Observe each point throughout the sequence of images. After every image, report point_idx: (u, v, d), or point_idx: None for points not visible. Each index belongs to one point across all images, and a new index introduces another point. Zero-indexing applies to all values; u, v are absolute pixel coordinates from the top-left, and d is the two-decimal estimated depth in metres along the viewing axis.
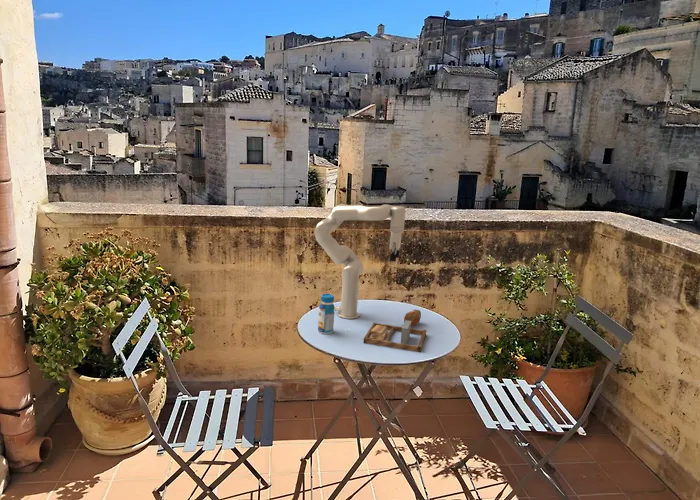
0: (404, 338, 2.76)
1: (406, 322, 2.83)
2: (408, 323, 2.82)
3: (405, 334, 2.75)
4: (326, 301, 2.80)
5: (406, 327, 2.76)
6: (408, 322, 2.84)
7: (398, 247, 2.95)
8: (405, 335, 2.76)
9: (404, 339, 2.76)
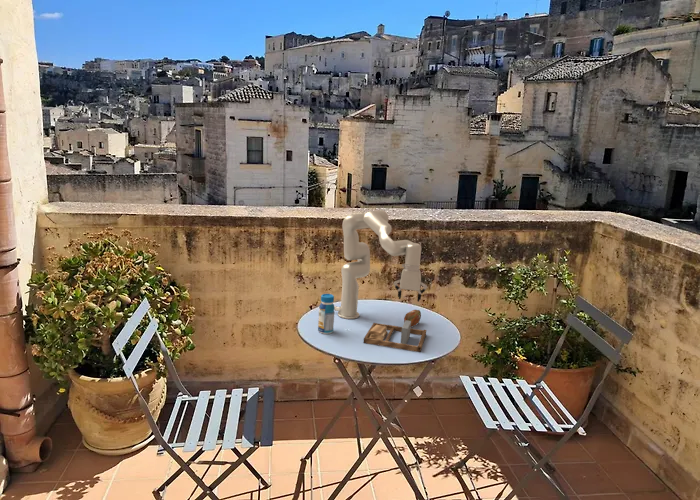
0: (404, 338, 2.76)
1: (406, 322, 2.83)
2: (408, 323, 2.82)
3: (405, 334, 2.76)
4: (326, 301, 2.80)
5: (406, 327, 2.76)
6: (408, 322, 2.84)
7: None
8: (405, 335, 2.76)
9: (404, 339, 2.76)
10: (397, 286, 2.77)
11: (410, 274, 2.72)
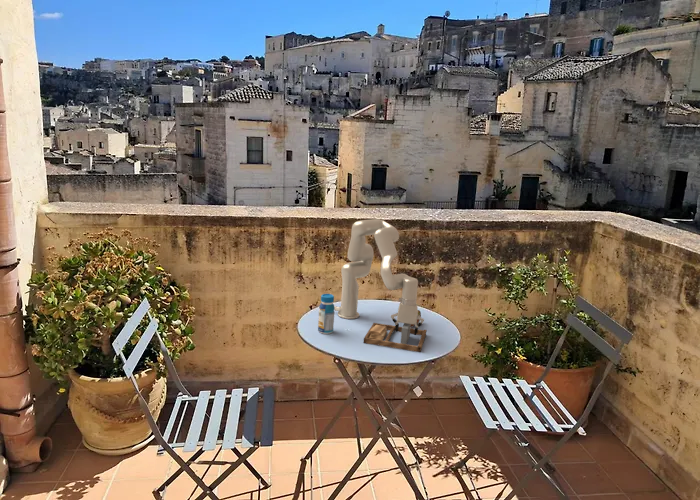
0: (404, 338, 2.76)
1: None
2: None
3: (405, 334, 2.75)
4: (326, 301, 2.80)
5: (406, 327, 2.76)
6: None
7: None
8: (405, 335, 2.76)
9: (404, 339, 2.76)
10: (394, 319, 2.81)
11: (407, 308, 2.76)
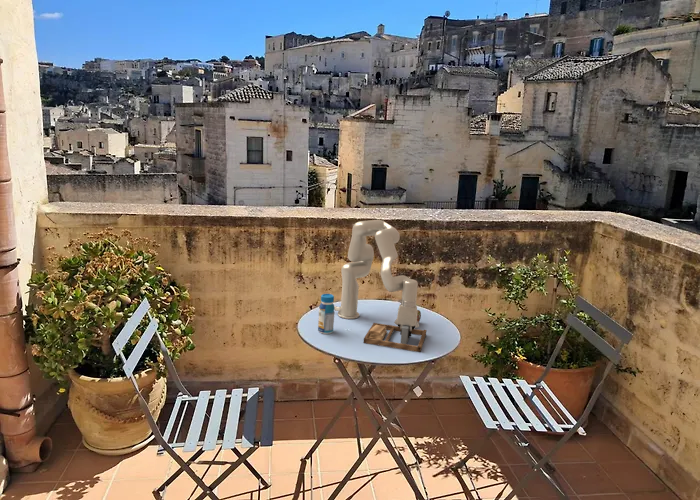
0: (404, 338, 2.76)
1: None
2: None
3: (405, 334, 2.75)
4: (326, 301, 2.80)
5: (406, 327, 2.76)
6: None
7: None
8: (405, 335, 2.75)
9: (404, 339, 2.76)
10: (399, 324, 2.81)
11: (407, 310, 2.76)
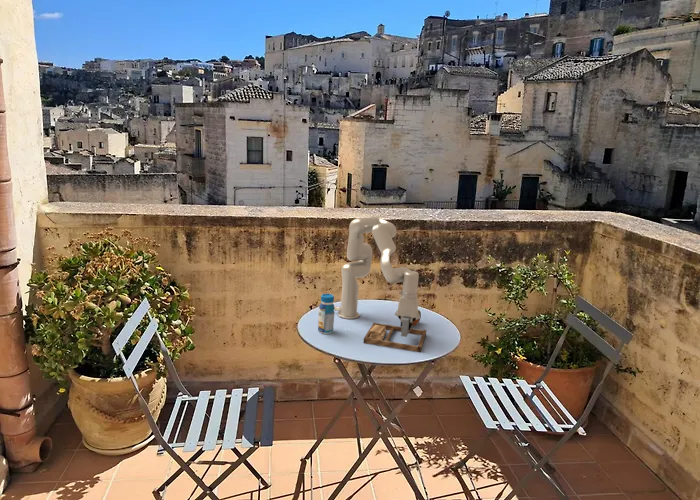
0: (405, 330, 2.75)
1: None
2: None
3: (406, 326, 2.74)
4: (326, 301, 2.80)
5: (407, 319, 2.75)
6: None
7: None
8: (406, 327, 2.75)
9: (405, 331, 2.75)
10: (400, 316, 2.80)
11: (407, 302, 2.75)
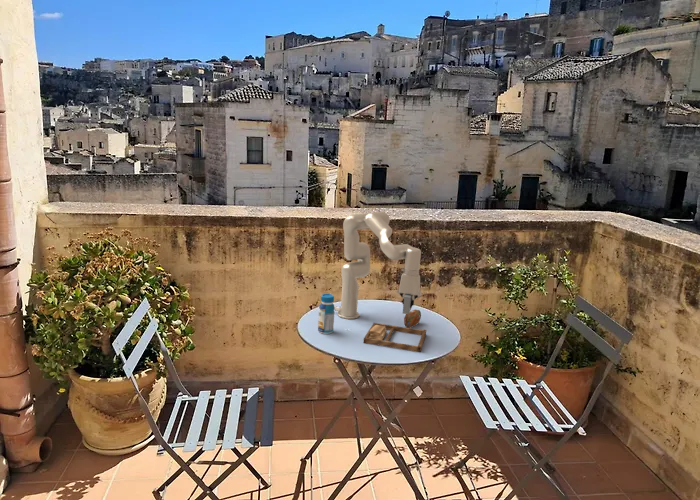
0: (406, 307, 2.72)
1: None
2: None
3: (407, 303, 2.72)
4: (326, 301, 2.80)
5: (408, 296, 2.73)
6: None
7: None
8: (407, 304, 2.72)
9: (406, 308, 2.73)
10: (402, 293, 2.77)
11: (409, 279, 2.72)
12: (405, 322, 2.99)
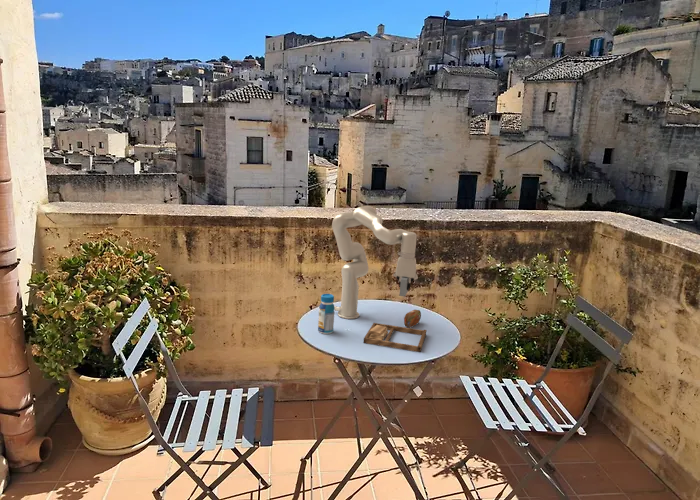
0: (403, 289, 2.80)
1: None
2: None
3: (404, 285, 2.80)
4: (326, 301, 2.80)
5: (405, 278, 2.80)
6: None
7: None
8: (404, 286, 2.80)
9: (403, 290, 2.80)
10: (398, 277, 2.85)
11: (406, 262, 2.80)
12: (405, 322, 2.99)
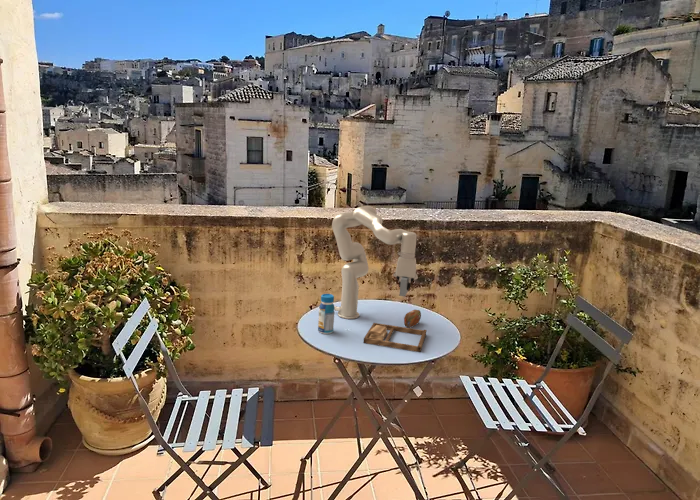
0: (403, 289, 2.80)
1: None
2: None
3: (404, 285, 2.80)
4: (326, 301, 2.80)
5: (405, 278, 2.80)
6: None
7: None
8: (404, 286, 2.80)
9: (403, 290, 2.80)
10: (398, 276, 2.85)
11: (406, 262, 2.80)
12: (405, 322, 2.99)
